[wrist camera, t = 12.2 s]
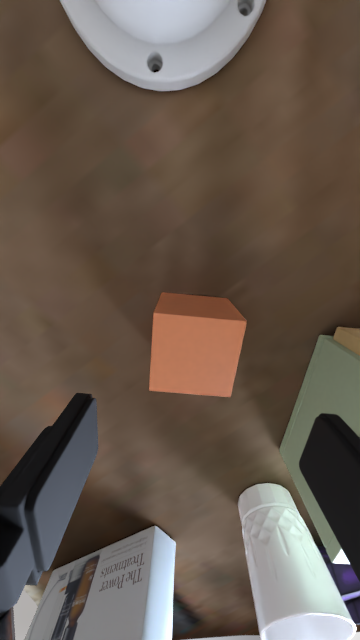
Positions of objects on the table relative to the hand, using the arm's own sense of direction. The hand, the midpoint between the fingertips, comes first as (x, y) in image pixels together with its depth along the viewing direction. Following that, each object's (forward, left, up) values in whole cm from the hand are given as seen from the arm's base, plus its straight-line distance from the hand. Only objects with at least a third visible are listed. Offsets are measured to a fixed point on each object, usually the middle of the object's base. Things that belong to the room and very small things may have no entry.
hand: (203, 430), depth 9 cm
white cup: (+22, +12, -11) cm, 28 cm away
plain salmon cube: (0, 0, -11) cm, 11 cm away
